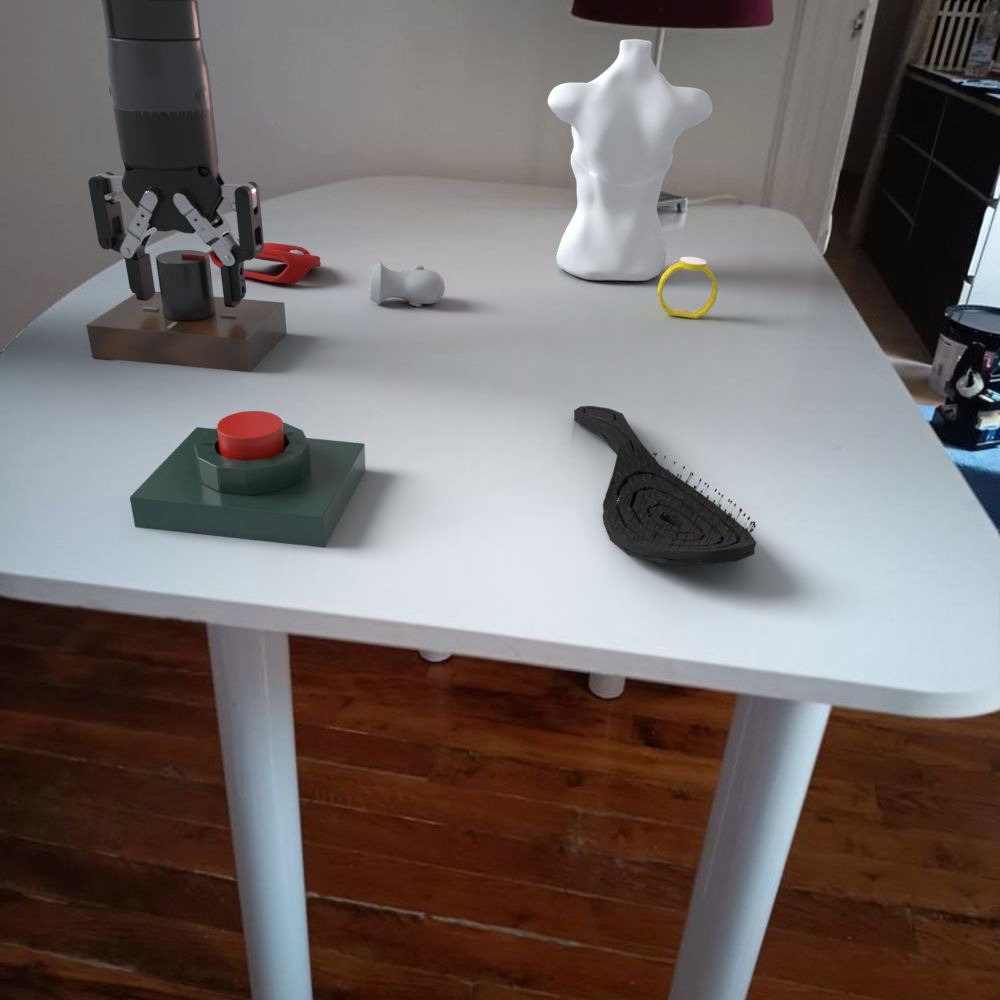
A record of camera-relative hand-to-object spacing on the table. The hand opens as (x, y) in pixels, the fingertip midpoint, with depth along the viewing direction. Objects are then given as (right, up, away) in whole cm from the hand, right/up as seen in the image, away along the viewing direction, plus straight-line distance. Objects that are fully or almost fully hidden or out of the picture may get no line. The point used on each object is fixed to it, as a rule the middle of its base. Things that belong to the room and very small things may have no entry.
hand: (189, 301), depth 81 cm
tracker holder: (+2, +8, +22) cm, 23 cm away
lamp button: (+12, -14, -23) cm, 29 cm away
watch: (+47, +2, +16) cm, 49 cm away
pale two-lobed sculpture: (+18, +3, +15) cm, 24 cm away
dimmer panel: (0, -4, +2) cm, 4 cm away
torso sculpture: (+41, +9, +28) cm, 50 cm away
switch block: (+12, -17, -21) cm, 29 cm away
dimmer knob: (0, -1, 0) cm, 1 cm away
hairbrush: (+37, -17, -18) cm, 44 cm away
